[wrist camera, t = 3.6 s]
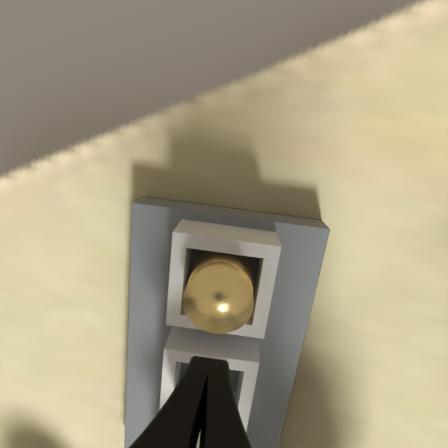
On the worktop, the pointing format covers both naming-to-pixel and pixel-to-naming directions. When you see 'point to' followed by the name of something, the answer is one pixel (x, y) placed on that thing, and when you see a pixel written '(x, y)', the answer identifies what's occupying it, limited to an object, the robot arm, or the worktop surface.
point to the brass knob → (219, 292)
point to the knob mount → (210, 342)
